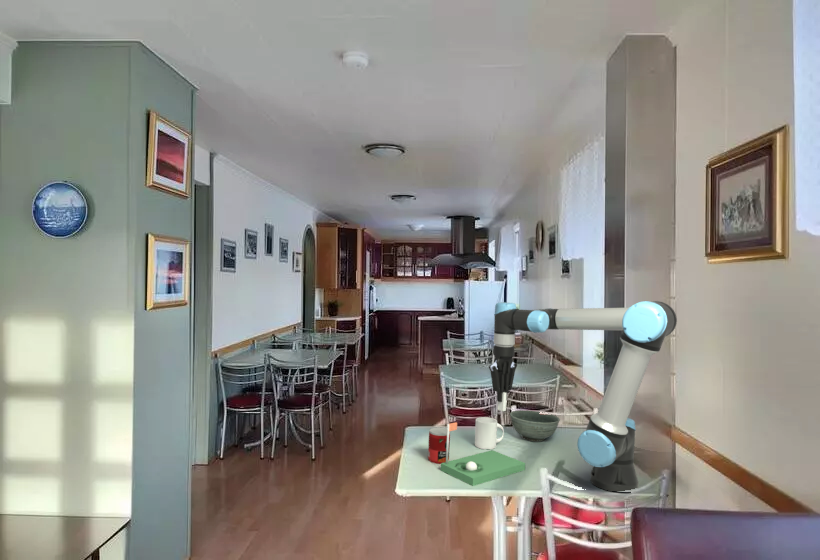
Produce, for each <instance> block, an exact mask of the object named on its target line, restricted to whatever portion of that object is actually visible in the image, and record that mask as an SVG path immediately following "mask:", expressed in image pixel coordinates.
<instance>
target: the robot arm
mask: <svg viewBox="0 0 820 560" xmlns="http://www.w3.org/2000/svg"><path fill="white" fill-rule="evenodd" d="M493 314H494V325H493V327H494V330H493V344H494V345H493V348H492V351H493V352H492V354H493V356H494V359H493V363H492V364H490V365H488V369H489V372H490V377H491V385H492V390H493V392H495V393H496V394H497V395H496V401H497V410H498V411H501V412H507V400H508V394H509V393H510V392H511V390H512V389H513V384H514V378H515V373H516V369H517V367H518V363H516V362H514V360H513V358H514V357H515V347H516V346H515V345H516V344H515V342H516V331H520V332H521V331H522V332H531V333H535V334H536V333H543V334H544V333H545V332H546V331H547V330H568V331H569V330H571V331H572V330H579V331H582V330H583V331H585V330H586V331H621V334H620V337H619V339H620V341H621V343H622V346H621V348H620V352H619V355H618V357H617V359H616V362H615V365H614V367H613V371H612V373H611V376H610V378H609V382H608V384H607V386H606V390H605V392H604V396H603V398H602V400H601V403H600V405H599V407H598V411H597V413H594V414H592V415H590V418H589V420H588V424H587V426H586V429H585V430H584V431H582V433H580V435H579V437H578V438H577V445H576V446H577V450H578V452H579V455H580V457H581V458H582V459H583V460H584V461H585V462H586V463H587V464H589V465H590V466H592V470H591V471H590V483H591V484H592V485H593V486H595V487H597V488H599V489H602V490H603V491H604V490H605V491H607V490H608V492H612V491H625V490H631V489H635V488H638V489H639V479H638V476H637V475H638V474H637V471H636V468H635V463H634V462H635V460H634V459H635V458H634V457H635V443H636V442H635V440H636V430H637V429H636V421H635V420H634V419H632V418H630V417H629V415H630V414H631V411H632V407H633V405H634V403H635V400H636V397H637V394H638V393H639V390H640V387H641V384H642V383H643V379H644V376H645V374H646V372H647V369H648V366H649V363H650V361H651V358H652V356H653V355H655V354H657V353H660V351H661V348H662V345H663V342H664V340H665V338H666V337H668V336H669V335H670V334H672V333H673V332H674V331H675V329H676V327H677V322H678V318H677V313H676V311H675V309H673V308H672V306H670V305H669V304H667V303H666V302H664V301H658V300H653V301H652V300H651V301H648V300H647V301H645V300H644V301H639V302H637V303H634V304H632V305H631V306H630V307H597V308H595V307H591V308H590V307H587V308H586V307H585V308H584V307H583V308H552V307H551V308H543V309H542V308H538V309H520V308H517V305H516V303H515V302H501V301H500V302H497V303H496V304H495V307H494V313H493Z"/></svg>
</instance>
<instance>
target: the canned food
mask: <svg viewBox="0 0 820 560" xmlns="http://www.w3.org/2000/svg"><path fill="white" fill-rule="evenodd" d="M450 438H451V431H449V448H448V461H450V445H451V444H450V442H451V439H450ZM446 448H447V428H444V427H431V428H430V429H429V431H428V451H427V452H428V453H427V455H428V456H427V458H428V461H429V462H430V463H432V464H437V465H441V463H444V462H446Z"/></svg>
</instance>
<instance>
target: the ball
mask: <svg viewBox="0 0 820 560" xmlns="http://www.w3.org/2000/svg"><path fill="white" fill-rule="evenodd" d="M466 470H477V465H476V463H474V462H472V461H470V462H468V463H467V464H466Z"/></svg>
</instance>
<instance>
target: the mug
mask: <svg viewBox="0 0 820 560" xmlns="http://www.w3.org/2000/svg"><path fill="white" fill-rule="evenodd" d="M474 429H475V430H474V446H475V447H476V448H477V449H481V450H485V449H490V450H494V449H496V447H497V444H498V443H500V442H501V441H502V440H503V438H504V437H505V430H504V426H502V425H501V424H500V423H498V420H497V419H495V418H493V417H487V416H483V417H482V416H481V417H477V418H475V428H474ZM498 429H501V430H502V436H500V437H499V438H497V437H498V436H497V434H498Z"/></svg>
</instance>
